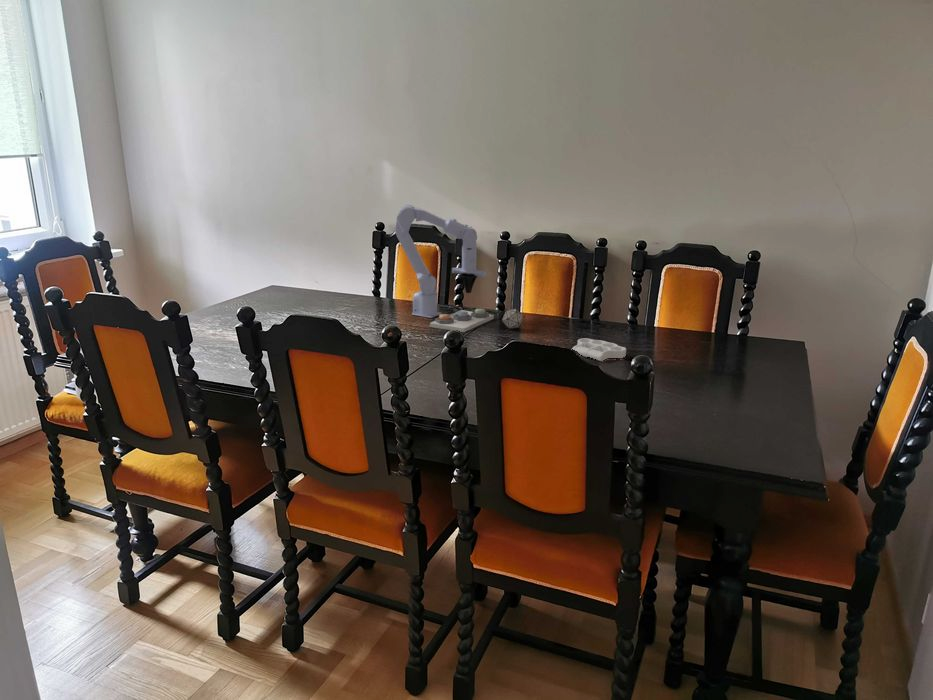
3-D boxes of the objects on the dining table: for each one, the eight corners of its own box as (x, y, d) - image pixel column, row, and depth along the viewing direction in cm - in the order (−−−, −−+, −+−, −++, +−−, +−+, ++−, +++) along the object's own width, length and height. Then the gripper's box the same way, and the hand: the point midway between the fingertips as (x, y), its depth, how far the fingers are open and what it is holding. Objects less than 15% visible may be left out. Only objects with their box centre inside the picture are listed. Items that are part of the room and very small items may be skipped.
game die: (516, 339, 261) (526, 322, 254) (495, 331, 261) (504, 314, 253) (520, 323, 267) (529, 306, 260) (499, 315, 267) (508, 297, 259)
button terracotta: (437, 321, 263) (437, 315, 263) (442, 319, 267) (442, 313, 266) (446, 322, 262) (446, 317, 261) (451, 320, 265) (451, 314, 264)
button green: (473, 315, 273) (473, 310, 272) (477, 313, 276) (478, 308, 275) (482, 316, 271) (482, 311, 270) (486, 314, 274) (487, 309, 273)
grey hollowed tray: (563, 353, 234) (588, 344, 244) (608, 365, 222) (633, 356, 232) (563, 343, 233) (589, 335, 243) (609, 355, 221) (634, 346, 231)
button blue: (455, 318, 268) (455, 312, 267) (460, 316, 271) (460, 310, 271) (464, 319, 266) (464, 314, 266) (469, 317, 270) (469, 312, 269)
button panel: (429, 326, 263) (429, 319, 262) (461, 313, 283) (461, 307, 282) (463, 332, 256) (463, 325, 255) (493, 318, 276) (493, 312, 275)
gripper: (448, 258, 274) (447, 292, 278) (480, 261, 267) (479, 296, 271) (457, 255, 279) (456, 289, 283) (489, 259, 273) (488, 293, 277)
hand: (468, 292), depth 277 cm, fingers closed
